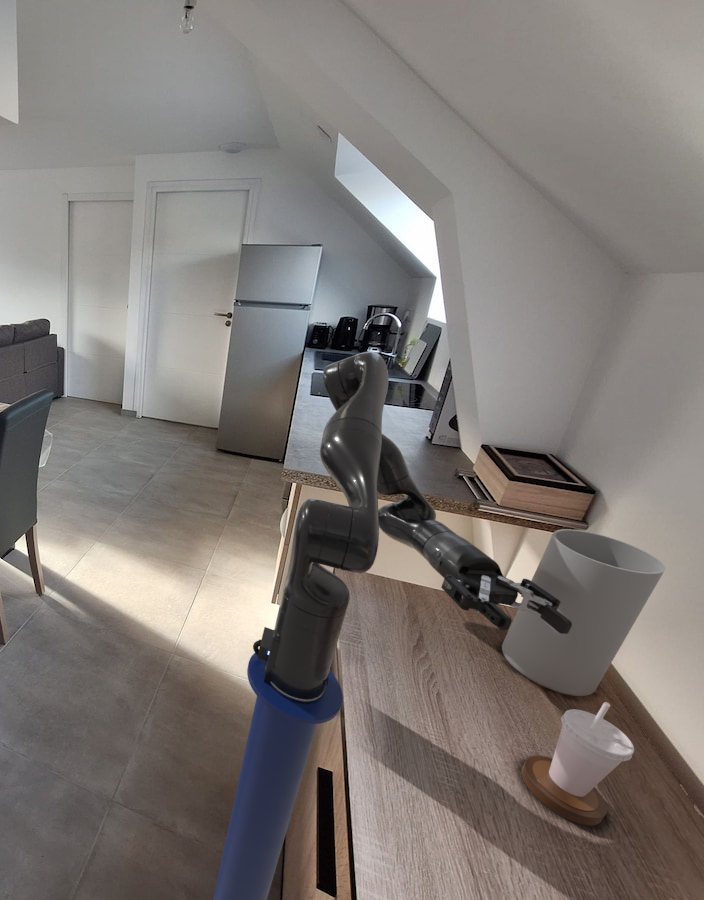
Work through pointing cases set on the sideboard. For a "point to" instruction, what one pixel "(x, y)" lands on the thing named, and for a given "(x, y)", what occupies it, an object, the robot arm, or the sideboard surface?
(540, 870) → the sideboard surface
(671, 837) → the sideboard surface
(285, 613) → the robot arm
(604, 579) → the cylinder vase
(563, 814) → the coaster
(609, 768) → the smoothie
